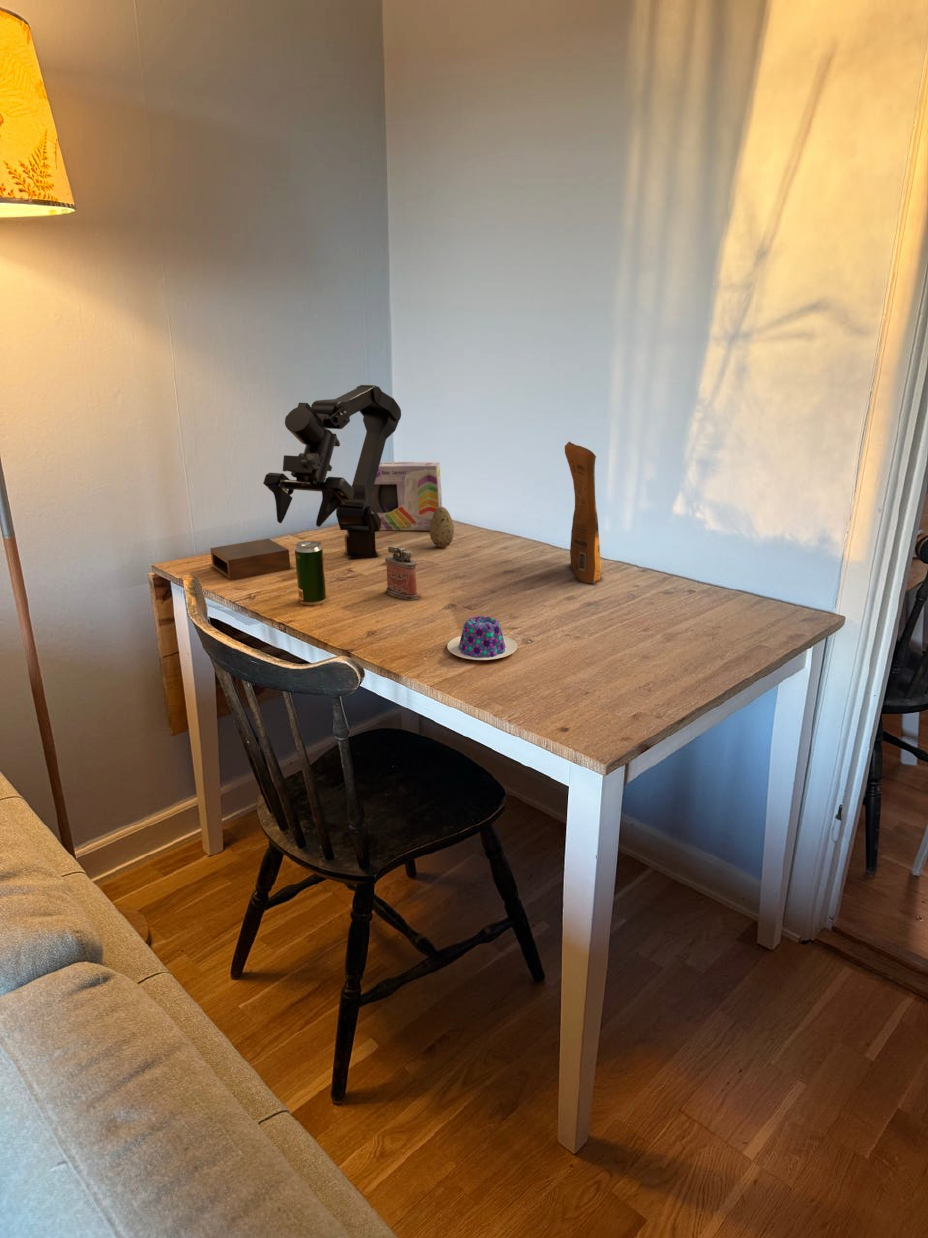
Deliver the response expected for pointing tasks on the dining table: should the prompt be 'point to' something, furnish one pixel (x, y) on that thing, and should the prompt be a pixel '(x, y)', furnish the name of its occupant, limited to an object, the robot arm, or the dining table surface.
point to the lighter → (401, 574)
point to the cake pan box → (407, 494)
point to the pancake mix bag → (584, 515)
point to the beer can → (310, 572)
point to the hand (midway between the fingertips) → (298, 524)
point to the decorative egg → (441, 528)
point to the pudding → (482, 640)
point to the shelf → (250, 558)
